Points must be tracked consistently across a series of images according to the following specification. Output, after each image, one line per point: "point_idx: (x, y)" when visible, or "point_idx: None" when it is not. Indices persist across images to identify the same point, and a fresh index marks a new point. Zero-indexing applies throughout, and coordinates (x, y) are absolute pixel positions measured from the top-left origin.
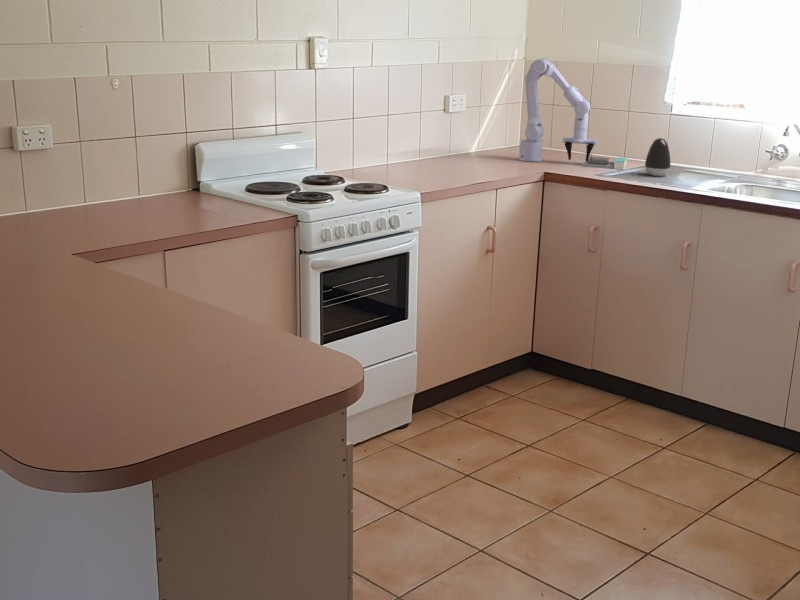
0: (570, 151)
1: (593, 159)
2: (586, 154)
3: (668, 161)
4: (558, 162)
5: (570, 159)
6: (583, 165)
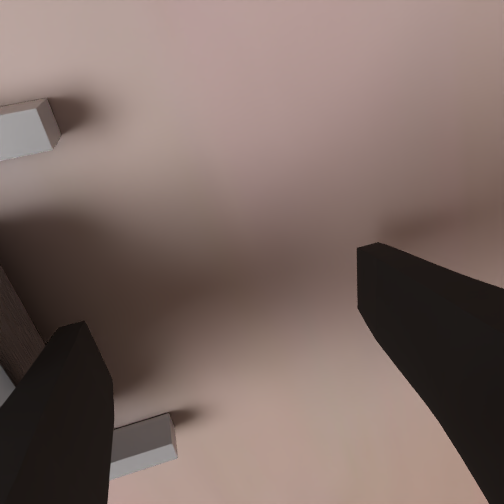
0: (452, 368)
1: None
2: (44, 411)
3: None
4: (479, 225)
5: (357, 287)
6: (16, 106)
